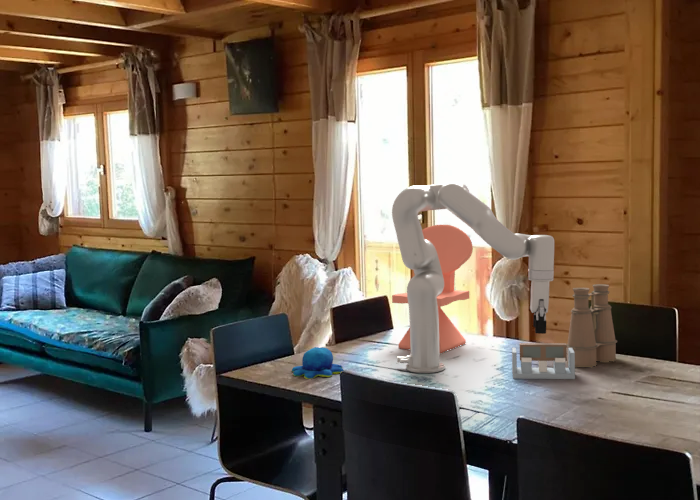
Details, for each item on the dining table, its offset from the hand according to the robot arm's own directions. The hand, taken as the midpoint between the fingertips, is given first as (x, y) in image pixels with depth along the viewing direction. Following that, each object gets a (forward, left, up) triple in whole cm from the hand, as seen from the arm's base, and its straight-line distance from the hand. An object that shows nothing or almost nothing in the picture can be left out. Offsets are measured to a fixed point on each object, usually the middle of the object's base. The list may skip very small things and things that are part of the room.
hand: (539, 330), depth 234 cm
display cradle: (+1, 0, -14) cm, 14 cm away
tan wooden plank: (+1, -1, -9) cm, 9 cm away
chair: (-36, +43, -15) cm, 58 cm away
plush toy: (-71, +1, -15) cm, 73 cm away
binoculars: (+18, +19, -15) cm, 30 cm away
